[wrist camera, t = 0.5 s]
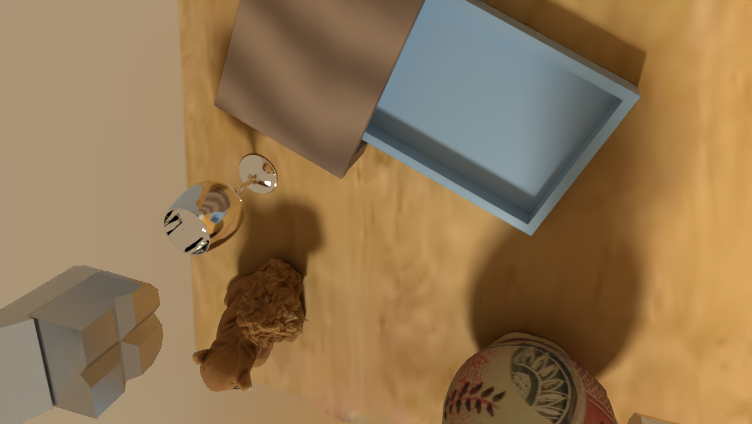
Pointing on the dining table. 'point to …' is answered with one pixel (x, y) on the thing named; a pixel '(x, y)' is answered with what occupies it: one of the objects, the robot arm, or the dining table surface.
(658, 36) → the dining table surface
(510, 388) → the ceramic jug
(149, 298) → the robot arm
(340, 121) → the wooden drawer box
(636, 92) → the tray
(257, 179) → the wineglass
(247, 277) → the stuffed squirrel
